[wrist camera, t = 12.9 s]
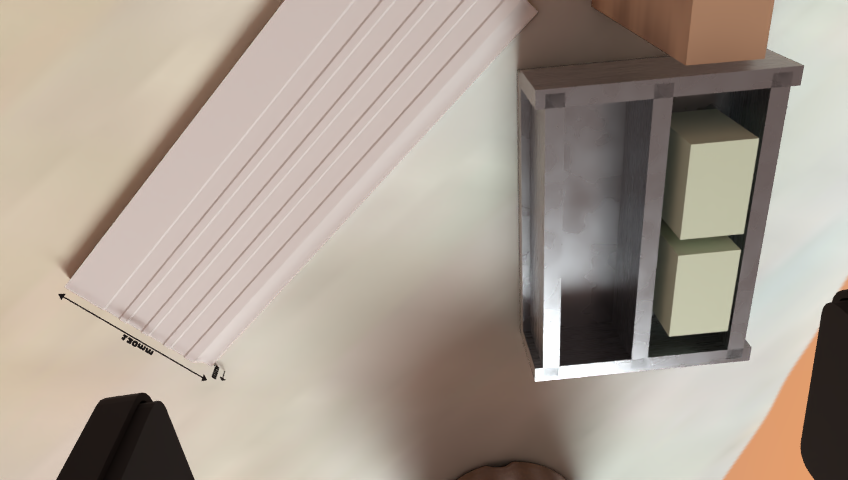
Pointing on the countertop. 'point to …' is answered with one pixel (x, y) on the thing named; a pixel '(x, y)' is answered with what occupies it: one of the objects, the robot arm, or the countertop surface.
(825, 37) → the countertop surface
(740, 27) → the walnut board
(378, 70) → the baseboard
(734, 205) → the offcut
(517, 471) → the plant pot
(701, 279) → the offcut
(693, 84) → the rack
